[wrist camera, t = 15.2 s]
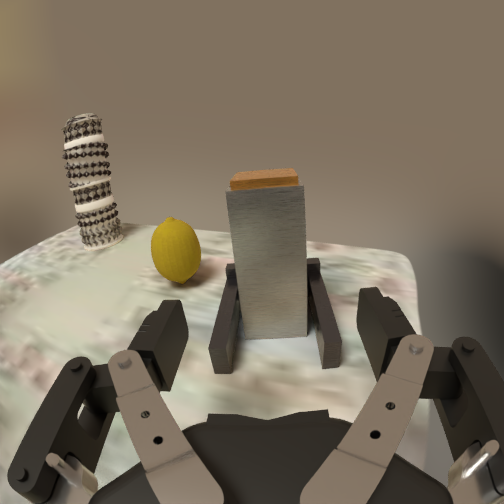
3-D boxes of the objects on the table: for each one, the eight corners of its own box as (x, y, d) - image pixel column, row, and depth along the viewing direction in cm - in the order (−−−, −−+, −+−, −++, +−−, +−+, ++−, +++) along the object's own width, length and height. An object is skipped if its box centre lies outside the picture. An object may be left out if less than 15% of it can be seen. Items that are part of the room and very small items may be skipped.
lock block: (306, 336, 23) (303, 176, 18) (245, 339, 23) (224, 182, 18) (301, 303, 27) (296, 167, 22) (249, 306, 28) (233, 172, 23)
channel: (338, 367, 19) (343, 329, 17) (214, 373, 20) (205, 337, 18) (318, 288, 29) (318, 257, 28) (231, 294, 30) (227, 263, 29)
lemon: (215, 279, 33) (205, 212, 30) (178, 300, 30) (162, 228, 26) (186, 268, 37) (175, 208, 34) (151, 286, 33) (135, 222, 30)
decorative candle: (81, 256, 46) (54, 119, 36) (83, 242, 53) (61, 125, 43) (127, 242, 49) (104, 106, 40) (123, 230, 57) (103, 114, 47)
